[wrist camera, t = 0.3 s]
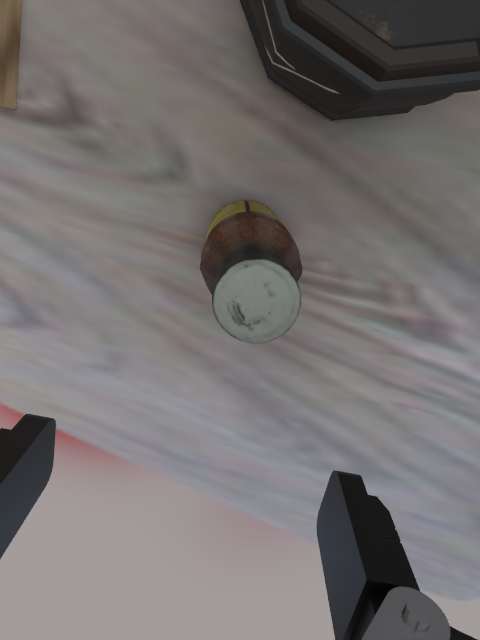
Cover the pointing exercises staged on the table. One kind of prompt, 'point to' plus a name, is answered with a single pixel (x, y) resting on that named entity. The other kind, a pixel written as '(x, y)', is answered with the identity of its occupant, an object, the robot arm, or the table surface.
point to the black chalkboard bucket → (368, 51)
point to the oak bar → (9, 51)
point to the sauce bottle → (252, 272)
